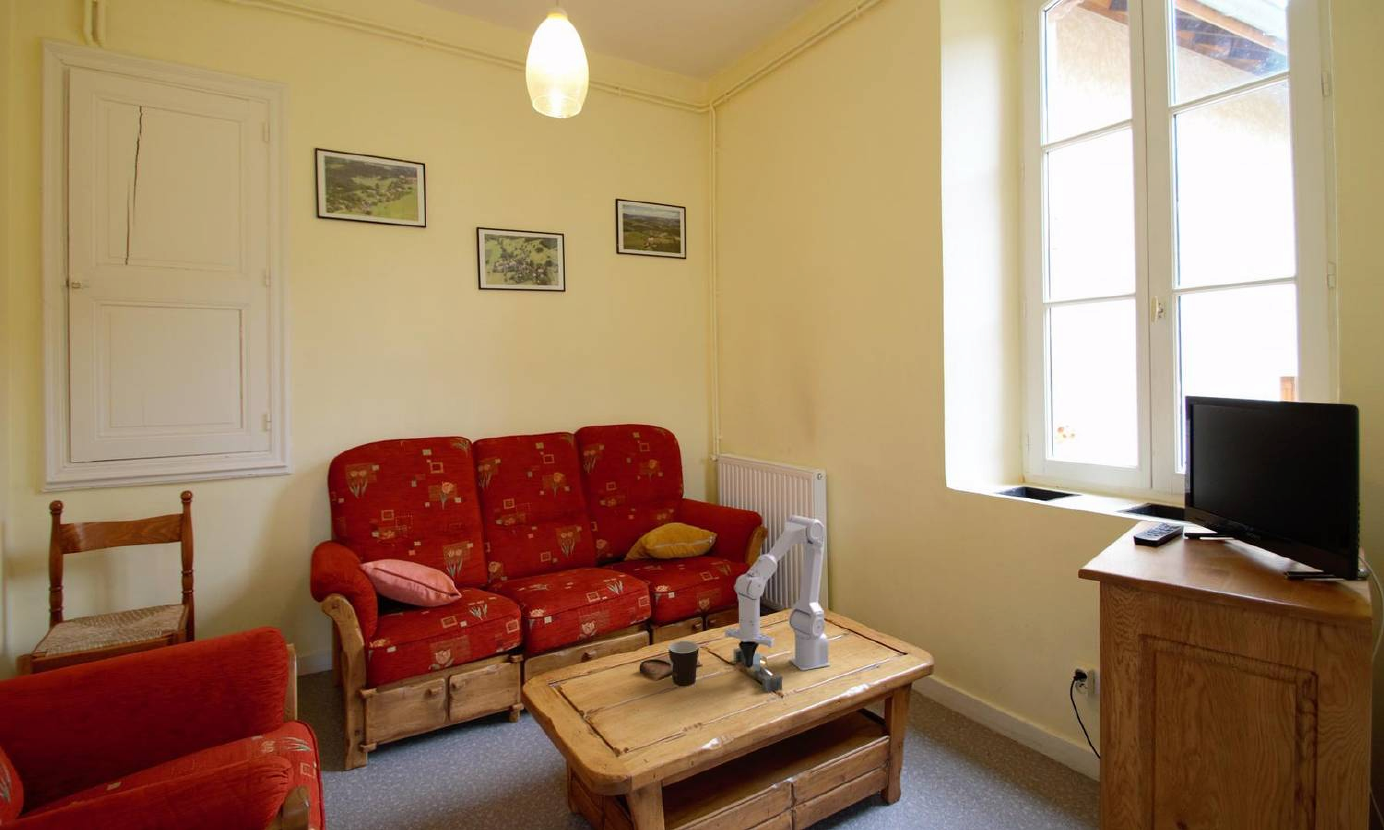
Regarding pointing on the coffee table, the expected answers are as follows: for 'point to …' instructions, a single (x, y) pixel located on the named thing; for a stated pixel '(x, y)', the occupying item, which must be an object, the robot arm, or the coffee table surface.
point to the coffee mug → (683, 662)
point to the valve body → (760, 673)
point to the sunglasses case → (658, 668)
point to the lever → (757, 661)
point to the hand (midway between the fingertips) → (749, 666)
